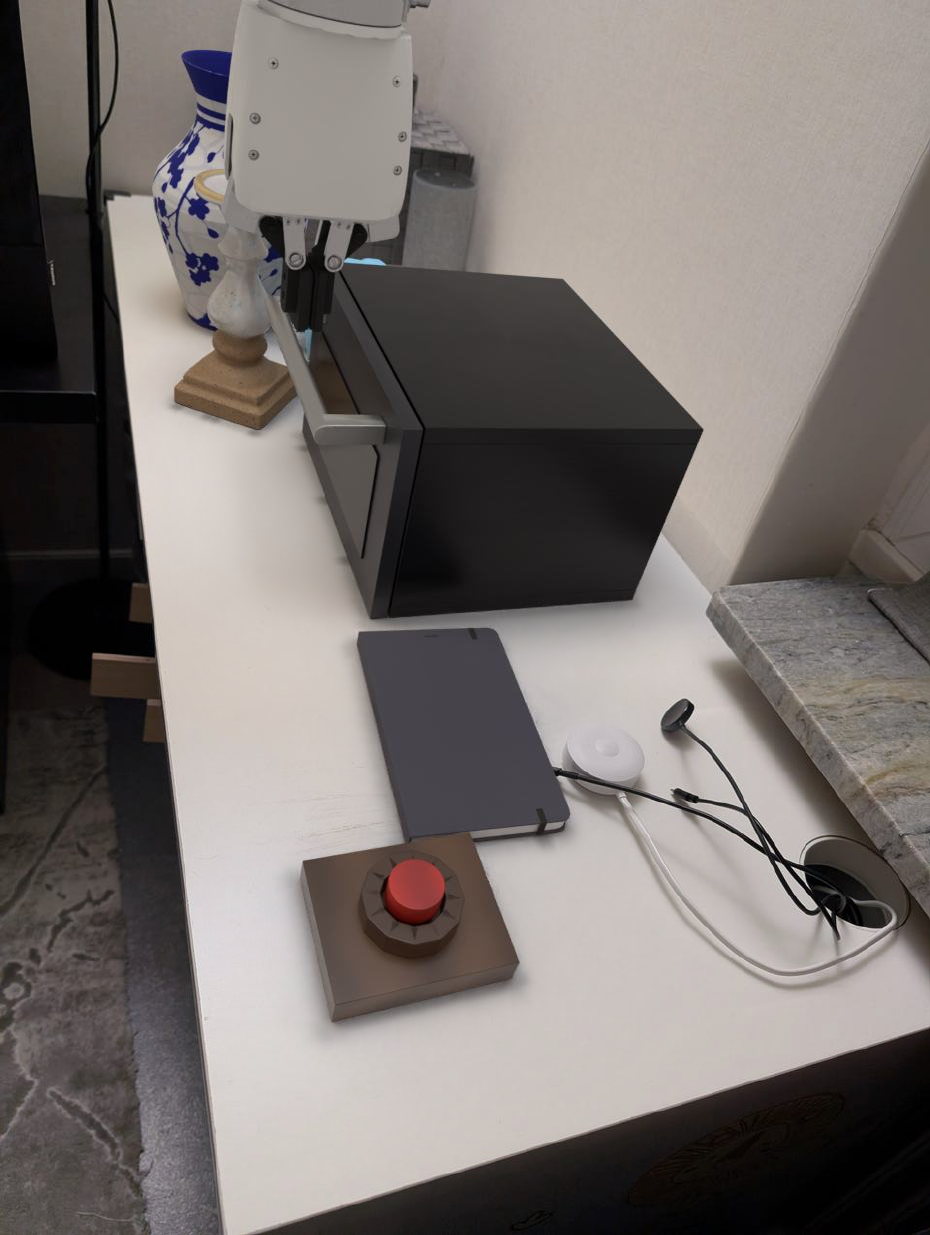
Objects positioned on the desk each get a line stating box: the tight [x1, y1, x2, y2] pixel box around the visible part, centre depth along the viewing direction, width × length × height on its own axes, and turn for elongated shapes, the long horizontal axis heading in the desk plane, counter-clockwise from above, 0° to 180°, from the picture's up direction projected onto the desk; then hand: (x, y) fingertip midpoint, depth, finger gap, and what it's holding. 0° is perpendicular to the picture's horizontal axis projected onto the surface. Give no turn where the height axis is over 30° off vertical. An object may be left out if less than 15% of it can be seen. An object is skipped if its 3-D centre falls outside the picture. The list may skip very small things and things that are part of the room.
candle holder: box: [173, 169, 298, 430], centre depth 99 cm, size 11×11×24 cm
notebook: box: [356, 627, 571, 843], centre depth 73 cm, size 13×2×21 cm
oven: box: [338, 262, 705, 619], centre depth 91 cm, size 26×32×20 cm
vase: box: [151, 49, 309, 331], centre depth 112 cm, size 19×19×30 cm
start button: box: [385, 859, 445, 924], centre depth 57 cm, size 4×4×2 cm
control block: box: [299, 832, 520, 1022], centre depth 58 cm, size 12×10×4 cm
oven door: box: [264, 271, 423, 619], centre depth 85 cm, size 8×32×20 cm, turn 19°
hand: (304, 322), depth 58 cm, fingers closed
